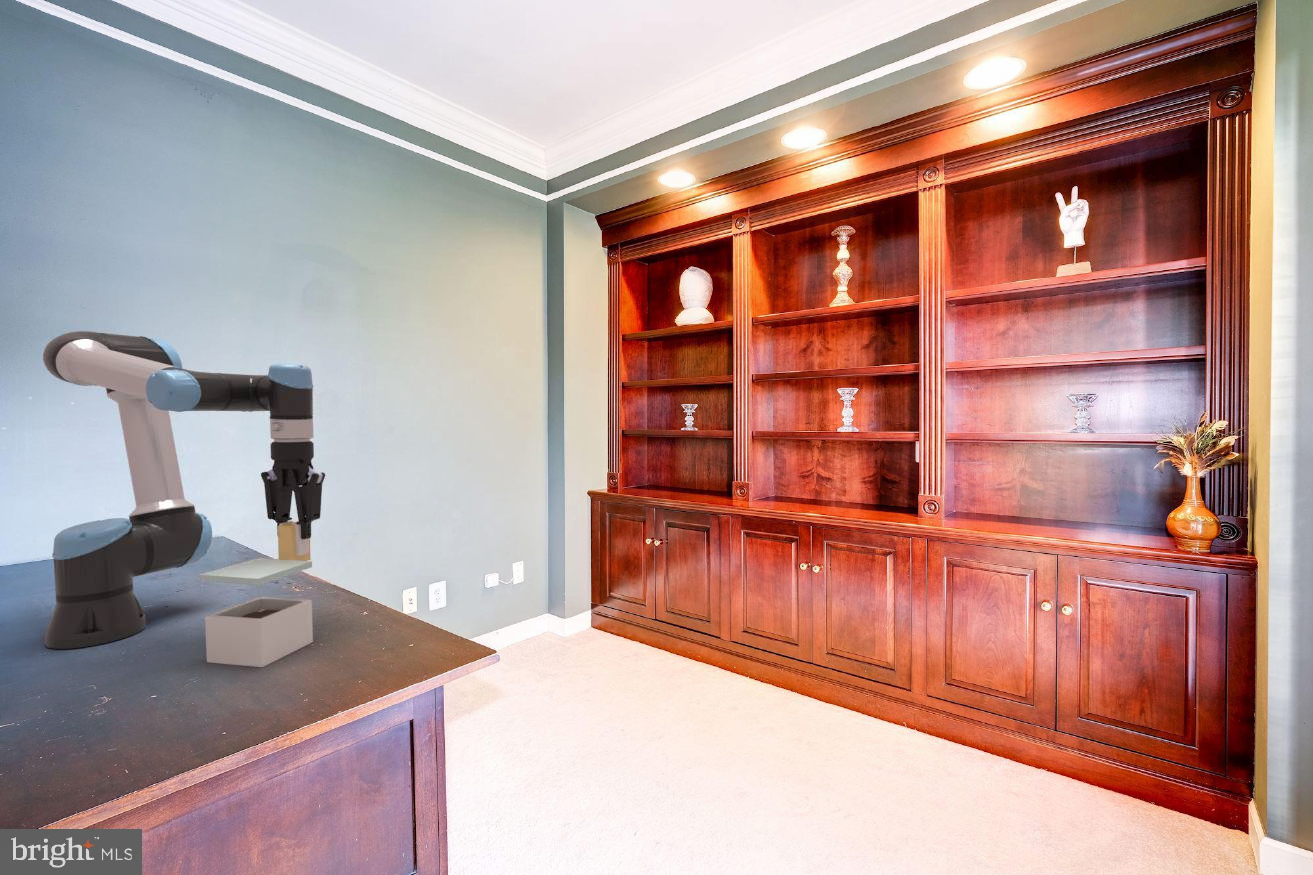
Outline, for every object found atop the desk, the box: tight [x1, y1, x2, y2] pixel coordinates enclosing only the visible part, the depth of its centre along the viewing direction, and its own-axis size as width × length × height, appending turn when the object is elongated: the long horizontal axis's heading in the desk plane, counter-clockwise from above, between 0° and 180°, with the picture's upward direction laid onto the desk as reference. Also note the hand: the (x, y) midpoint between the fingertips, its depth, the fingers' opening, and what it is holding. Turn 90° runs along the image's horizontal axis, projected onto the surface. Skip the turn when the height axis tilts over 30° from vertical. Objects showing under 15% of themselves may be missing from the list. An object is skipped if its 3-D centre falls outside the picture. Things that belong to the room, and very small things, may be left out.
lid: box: [199, 521, 313, 586], centre depth 115 cm, size 13×18×8 cm
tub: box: [204, 596, 314, 668], centre depth 113 cm, size 12×12×8 cm
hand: (294, 553), depth 121 cm, fingers closed on lid, 3 cm apart
